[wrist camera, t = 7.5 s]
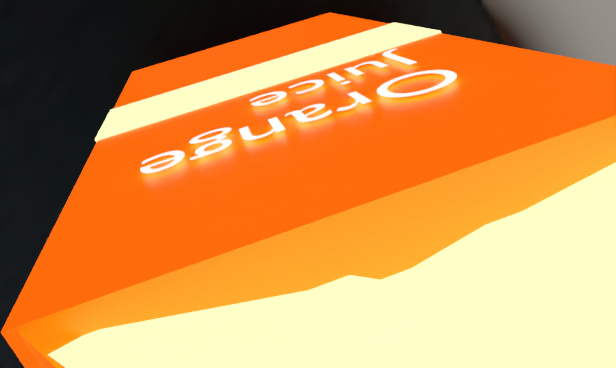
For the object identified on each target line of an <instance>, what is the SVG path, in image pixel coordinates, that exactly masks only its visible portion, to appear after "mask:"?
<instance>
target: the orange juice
mask: <svg viewBox="0 0 616 368" xmlns="http://www.w3.org/2000/svg"><path fill="white" fill-rule="evenodd" d="M95 141H96V145H95V147H94V149H93V151H92V152H91V154H90V156H89V158H88V160H87V162H86V164H85V166H84V168H83V170H82V172H81V174H80V176H79V178H78V180H77V182H76V184H75V186H74V188H73V190H72V192H71V194H70V196H69V198H68V200H67V202H66V204H65V206H64V208H63V210H62V212H61V214H60V216H59V218H58V220H57V222H56V224H55V226H54V228H53V230H52V232H51V234H50V236H49V238H48V240H47V242H46V244H45V246H44V248H43V250H42V252H41V254H40V256H39V258H38V259H37V261H36V263H35V265H34V267H33V269H32V271H31V273H30V275H29V277H28V279H27V281H26V283H25V285H24V287H23V289H22V291H21V293H20V295H19V297H18V299H17V301H16V303H15V305H14V307H13V309H12V311H11V313H10V315H9V317H8V319H7V321H6V323H5V325H4V327H3V329H2V331H1V333H2V335H3V336H4V338H5V339H6V341H7V342H8V344H9V345H10V346H11V348H12V349H13V351H14V352H15V354H16V355H17V357H18V358H19V360H20V361H21V363H22V364H23V366H24V367H25V368H616V66H612V65H607V64H601V63H596V62H590V61H585V60H580V59H575V58H569V57H564V56H558V55H553V54H548V53H543V52H537V51H532V50H526V49H521V48H516V47H511V46H506V45H500V44H495V43H490V42H484V41H479V40H474V39H468V38H463V37H458V36H452V35H447V34H442V33H441V31H440V30H434V29H429V28H423V27H417V26H412V25H406V24H400V23H395V22H394V23H390V24H388V23H383V22H378V21H372V20H367V19H362V18H356V17H351V16H346V15H340V14H335V13H326V14H323V15H320V16H316V17H313V18H310V19H306V20H303V21H300V22H296V23H293V24H290V25H286V26H283V27H280V28H276V29H273V30H270V31H266V32H263V33H260V34H256V35H253V36H250V37H246V38H243V39H240V40H236V41H233V42H230V43H226V44H223V45H220V46H216V47H213V48H210V49H206V50H203V51H200V52H196V53H193V54H190V55H186V56H183V57H180V58H176V59H173V60H170V61H166V62H163V63H160V64H156V65H153V66H150V67H146V68H143V69H140V70H136V71H133V72H132V73H131V75H130V77H129V79H128V81H127V83H126V85H125V87H124V89H123V91H122V93H121V95H120V97H119V99H118V101H117V103H116V105H115V107H114V109H111V110H110V111H109V113H108V115H107V117H106V119H105V121H104V123H103V125H102V126H101V128H100V130H99V132H98V134H97V136H96V138H95Z"/></svg>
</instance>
